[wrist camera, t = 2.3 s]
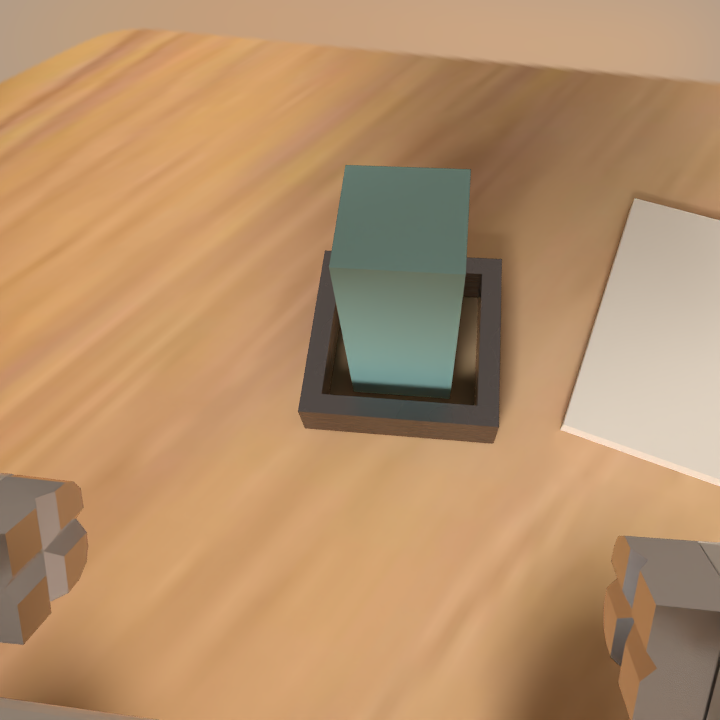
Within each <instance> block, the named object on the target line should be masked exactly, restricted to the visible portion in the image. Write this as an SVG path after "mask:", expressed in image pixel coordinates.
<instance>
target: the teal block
mask: <svg viewBox="0 0 720 720" xmlns="http://www.w3.org/2000/svg"><path fill="white" fill-rule="evenodd" d="M470 176H471V169H446V168H417V167H387V166H358V165H346V166H345V172H344V178H343V184H342V190H341V197H340V203H339V209H338V215H337V221H336V227H335V233H334V240H333V246H332V252H331V258H330V264H329V270H330V275H331V280H332V285H333V290H334V295H335V300H336V305H337V310H338V315H339V320H340V325H341V330H342V335H343V340H344V345H345V351H346V356H347V361H348V366H349V371H350V376H351V381H352V386H353V391H354V392H364V393H378V394H391V395H404V396H418V397H431V398H445V399H450V393H451V385H452V377H453V370H454V362H455V354H456V346H457V338H458V331H459V323H460V315H461V307H462V299H463V292H464V284H465V276H466V258H467V237H468V217H469V196H470Z"/></svg>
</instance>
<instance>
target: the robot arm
mask: <svg viewBox="0 0 720 720" xmlns="http://www.w3.org/2000/svg"><path fill="white" fill-rule="evenodd" d="M83 508H84V505H83V499H82V493H81V488H80V487H79V486H78V485H77V484H76V483H75V482H73V481H65V480H56V479H48V478H40V477H31V476H23V475H13V474H8V473H0V642H2V643H12V644H22V645H24V644H25V642H26V641H27V640H28V639H29V638H30V637H31V636H32V634H33V633H34V632H35V631H36V630H37V629H38V628H39V626H40V625H41V624H42V623H43V622H44V621H45V620H46V618H47V617H48V616H49V615H50V614H51V604H50V601H53V600H55V599H57V598H59V597H61V596H63V595H65V594H67V593H69V592H70V590H71V589H72V588H73V587H74V586H75V584H76V583H77V582H78V581H79V579H80V577H81V574H82V572H83V569H84V567H85V564H86V562H87V553H88V539H87V532H86V531H85V529H84V528H83V527H82V526H81V524H80V523H79V522H78V521H77V519H76V518H77V517H78V515H79V514H80V512H81V511H82V509H83ZM611 562H612V564H613V567H614V570H615V572H616V575H617V579H616V580H615V581H614V582H612V583H611V584H610V585H609V586H608V587H607V588H606V595H605V602H604V634H605V640H606V645H607V648H608V651H609V655H610V657H611V658H612V659H613V660H614V661H615V662H616V663H617V664H619V665H620V666H621V670H620V675H619V681H618V684H619V687H620V690H621V693H622V696H623V699H624V702H625V705H626V709H627V712H628V715H629V718H630V720H720V543H719V542H702V541H687V540H673V539H660V538H646V537H632V536H618V538H617V540H616V543H615V545H614V549H613V555H612V560H611ZM0 720H157V719H150V718H143V717H136V716H129V715H122V714H115V713H108V712H101V711H94V710H87V709H79V708H72V707H65V706H58V705H51V704H44V703H37V702H30V701H23V700H16V699H9V698H2V697H0Z"/></svg>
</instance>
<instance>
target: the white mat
mask: <svg viewBox="0 0 720 720" xmlns="http://www.w3.org/2000/svg"><path fill="white" fill-rule="evenodd" d="M560 430H562V431H565V432H568V433H570V434H573V435H576V436H579V437H582V438H585V439H587V440H590V441H593V442H596V443H599V444H601V445H604V446H607V447H610V448H613V449H616V450H618V451H621V452H624V453H627V454H630V455H632V456H635V457H638V458H641V459H644V460H647V461H649V462H652V463H655V464H658V465H661V466H663V467H666V468H669V469H672V470H675V471H678V472H680V473H683V474H686V475H689V476H692V477H695V478H697V479H700V480H703V481H706V482H709V483H711V484H714V485H717V486H720V220H717V219H713V218H709V217H705V216H702V215H698V214H694V213H690V212H686V211H682V210H679V209H675V208H671V207H667V206H663V205H659V204H655V203H652V202H648V201H644V200H640V199H636V198H635V199H634V201H633V203H632V205H631V208H630V211H629V214H628V218H627V221H626V224H625V227H624V230H623V233H622V236H621V240H620V243H619V246H618V249H617V252H616V255H615V259H614V262H613V265H612V268H611V271H610V274H609V277H608V281H607V284H606V287H605V290H604V293H603V296H602V300H601V303H600V306H599V309H598V312H597V315H596V319H595V322H594V325H593V328H592V331H591V334H590V337H589V341H588V344H587V347H586V350H585V353H584V356H583V360H582V363H581V366H580V369H579V372H578V375H577V379H576V382H575V385H574V388H573V391H572V394H571V397H570V401H569V404H568V407H567V410H566V413H565V416H564V420H563V423H562V426H561V429H560Z"/></svg>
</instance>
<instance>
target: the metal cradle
mask: <svg viewBox="0 0 720 720" xmlns="http://www.w3.org/2000/svg"><path fill="white" fill-rule="evenodd" d="M331 252H332V251H325V254H324V260H323V266H322V272H321V278H320V284H319V290H318V295H317V301H316V307H315V313H314V319H313V325H312V331H311V337H310V343H309V349H308V355H307V361H306V367H305V373H304V379H303V385H302V391H301V397H300V403H299V409H298V412H299V415H300V417H301V420H302V422H303V425H304V427H305V428H309V429H321V430H334V431H346V432H358V433H371V434H383V435H395V436H407V437H420V438H432V439H444V440H457V441H469V442H481V443H494V440H495V437H496V434H497V431H498V428H499V380H500V327H501V273H502V259H486V258H466V276H465V284H464V292H463V296H468V297H478V317H477V344H476V371H475V397H474V405H462V404H449V403H436V402H422V401H409V400H395V399H382V398H369V397H355V396H342V395H329V394H330V387H331V380H332V373H333V366H334V360H335V353H336V346H337V339H338V332H339V325H340V320H339V315H338V310H337V305H336V300H335V295H334V290H333V285H332V280H331V275H330V270H329V264H330V258H331Z"/></svg>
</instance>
